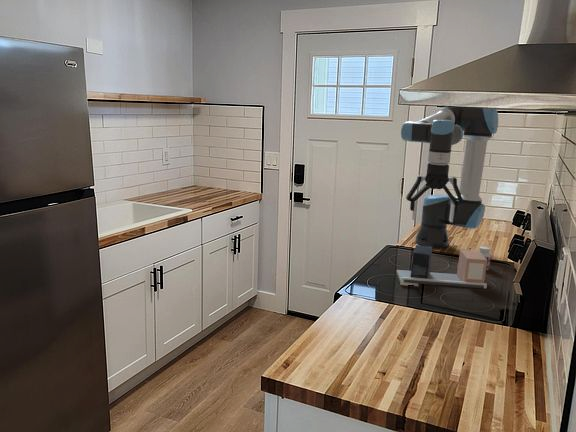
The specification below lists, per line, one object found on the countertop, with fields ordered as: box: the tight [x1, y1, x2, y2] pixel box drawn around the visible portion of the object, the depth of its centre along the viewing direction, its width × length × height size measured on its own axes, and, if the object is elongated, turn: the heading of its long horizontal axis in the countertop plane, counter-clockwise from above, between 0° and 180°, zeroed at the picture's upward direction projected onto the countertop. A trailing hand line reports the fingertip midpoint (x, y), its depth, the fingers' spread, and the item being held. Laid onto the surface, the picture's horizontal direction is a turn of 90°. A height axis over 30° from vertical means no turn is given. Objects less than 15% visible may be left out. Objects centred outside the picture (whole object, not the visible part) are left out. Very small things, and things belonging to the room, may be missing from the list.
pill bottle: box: [478, 246, 492, 271], centre depth 193 cm, size 5×5×10 cm
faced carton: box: [456, 249, 487, 283], centre depth 178 cm, size 10×7×10 cm
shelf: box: [395, 269, 488, 289], centre depth 179 cm, size 13×30×3 cm, turn 85°
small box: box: [410, 244, 433, 279], centre depth 180 cm, size 11×6×10 cm, turn 160°
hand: (432, 220), depth 179 cm, fingers open, 13 cm apart
